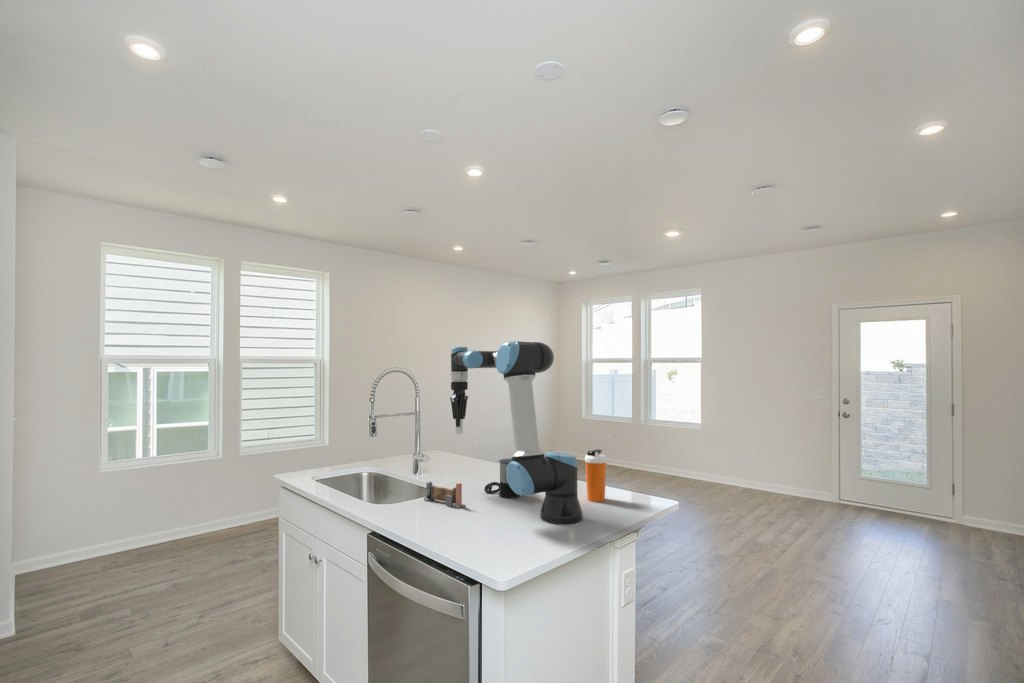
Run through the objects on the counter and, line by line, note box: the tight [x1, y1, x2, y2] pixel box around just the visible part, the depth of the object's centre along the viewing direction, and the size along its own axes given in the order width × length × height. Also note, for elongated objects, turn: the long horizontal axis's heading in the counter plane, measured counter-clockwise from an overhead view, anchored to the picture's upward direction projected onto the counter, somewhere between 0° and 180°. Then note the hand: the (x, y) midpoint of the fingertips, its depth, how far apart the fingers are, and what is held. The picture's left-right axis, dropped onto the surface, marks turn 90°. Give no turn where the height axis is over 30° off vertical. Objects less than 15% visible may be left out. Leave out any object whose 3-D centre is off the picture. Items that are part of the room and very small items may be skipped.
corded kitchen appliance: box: [483, 458, 521, 499], centre depth 213 cm, size 14×16×15 cm
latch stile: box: [445, 482, 466, 509], centre depth 195 cm, size 7×4×9 cm, turn 53°
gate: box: [431, 485, 456, 505], centre depth 199 cm, size 14×2×6 cm, turn 55°
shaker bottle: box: [584, 449, 608, 503], centre depth 204 cm, size 9×9×20 cm
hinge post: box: [423, 481, 436, 502], centre depth 204 cm, size 4×4×7 cm
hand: (459, 433), depth 222 cm, fingers closed
